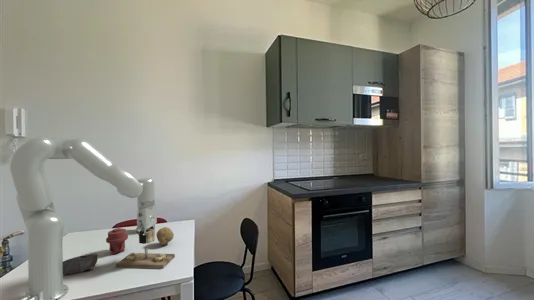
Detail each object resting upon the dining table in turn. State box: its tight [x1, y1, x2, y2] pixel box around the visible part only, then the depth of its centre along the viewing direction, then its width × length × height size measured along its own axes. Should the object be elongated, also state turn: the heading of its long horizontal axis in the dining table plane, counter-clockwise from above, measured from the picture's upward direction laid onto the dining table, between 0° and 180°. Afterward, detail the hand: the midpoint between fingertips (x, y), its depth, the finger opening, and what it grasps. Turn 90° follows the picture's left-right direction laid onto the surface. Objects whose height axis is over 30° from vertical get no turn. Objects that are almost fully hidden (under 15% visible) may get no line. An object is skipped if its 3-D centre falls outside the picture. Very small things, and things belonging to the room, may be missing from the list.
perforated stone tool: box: [63, 253, 99, 275], centre depth 109 cm, size 15×5×7 cm, turn 114°
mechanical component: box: [105, 227, 129, 255], centre depth 130 cm, size 12×10×10 cm
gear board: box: [115, 247, 176, 270], centre depth 118 cm, size 12×23×7 cm, turn 86°
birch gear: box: [141, 228, 156, 245], centre depth 118 cm, size 7×7×5 cm
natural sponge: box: [155, 226, 174, 246], centre depth 139 cm, size 9×9×10 cm
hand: (147, 239), depth 118 cm, fingers closed on birch gear, 6 cm apart
